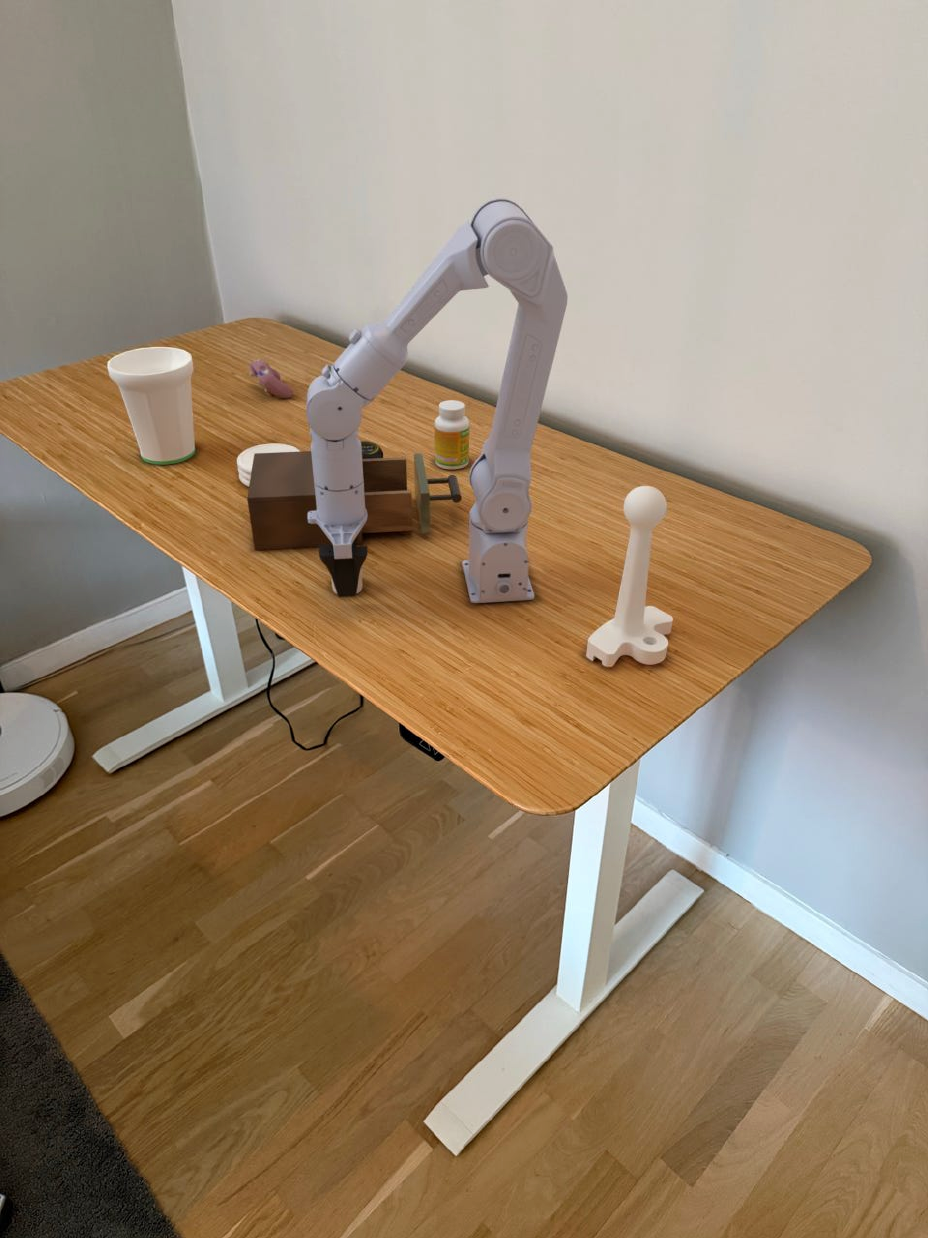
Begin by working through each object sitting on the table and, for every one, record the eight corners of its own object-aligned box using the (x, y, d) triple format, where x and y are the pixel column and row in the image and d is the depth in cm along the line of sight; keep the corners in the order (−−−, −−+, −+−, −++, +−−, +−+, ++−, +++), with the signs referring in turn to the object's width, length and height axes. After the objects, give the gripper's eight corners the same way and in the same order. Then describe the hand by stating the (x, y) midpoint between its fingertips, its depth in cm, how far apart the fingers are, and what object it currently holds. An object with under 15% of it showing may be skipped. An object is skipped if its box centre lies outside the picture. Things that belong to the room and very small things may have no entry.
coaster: (227, 474, 137) (224, 453, 135) (283, 456, 143) (281, 436, 141) (260, 498, 131) (257, 476, 129) (317, 479, 136) (315, 458, 134)
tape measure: (338, 480, 136) (336, 458, 134) (342, 461, 142) (340, 439, 139) (383, 480, 136) (382, 458, 134) (385, 460, 142) (384, 439, 140)
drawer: (454, 490, 132) (454, 451, 128) (464, 531, 122) (464, 491, 119) (331, 496, 130) (328, 457, 127) (331, 538, 120) (327, 497, 117)
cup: (111, 464, 140) (88, 369, 131) (156, 433, 149) (138, 342, 141) (181, 475, 137) (163, 379, 128) (222, 443, 147) (208, 351, 138)
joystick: (642, 616, 108) (666, 465, 96) (692, 646, 103) (723, 491, 91) (578, 651, 102) (594, 495, 90) (627, 684, 97) (651, 524, 86)
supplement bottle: (465, 472, 139) (465, 413, 133) (431, 468, 140) (430, 410, 134) (471, 457, 143) (472, 399, 137) (439, 454, 144) (438, 396, 138)
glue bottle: (363, 595, 111) (361, 565, 108) (332, 596, 111) (329, 566, 108) (362, 578, 114) (360, 549, 111) (332, 580, 114) (329, 550, 111)
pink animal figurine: (261, 391, 169) (240, 361, 164) (281, 377, 169) (261, 347, 165) (275, 409, 162) (254, 379, 157) (296, 395, 162) (275, 364, 157)
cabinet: (360, 498, 132) (356, 448, 127) (362, 544, 121) (359, 492, 116) (261, 502, 130) (254, 453, 125) (254, 550, 119) (247, 497, 115)
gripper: (305, 454, 109) (315, 549, 117) (302, 511, 97) (313, 613, 105) (363, 452, 110) (369, 546, 118) (367, 508, 98) (373, 609, 106)
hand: (346, 578), depth 111 cm, fingers open, 7 cm apart
